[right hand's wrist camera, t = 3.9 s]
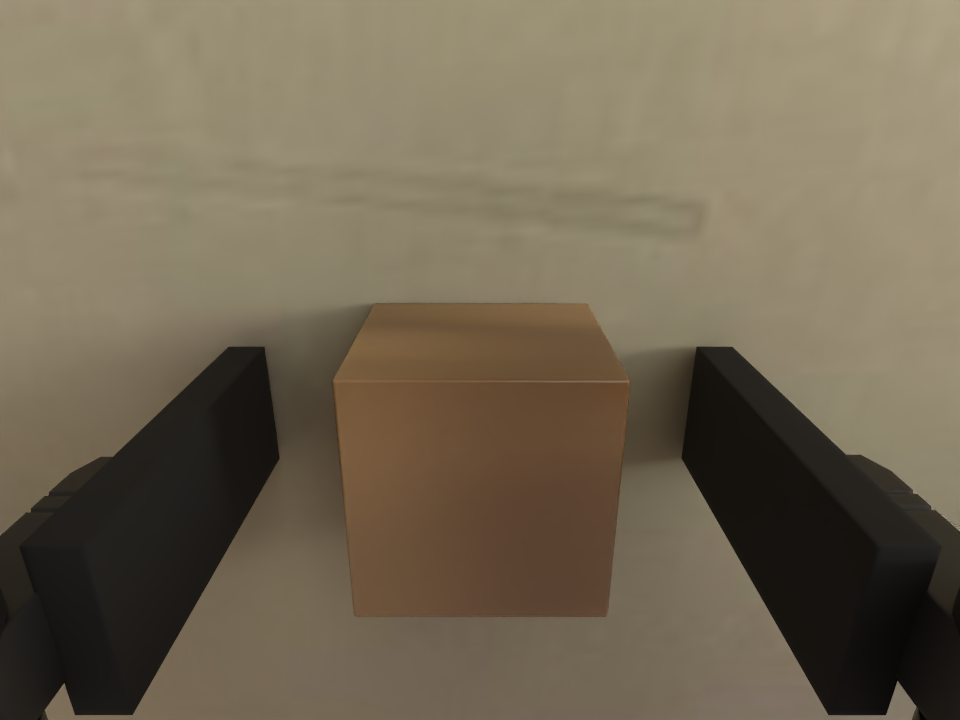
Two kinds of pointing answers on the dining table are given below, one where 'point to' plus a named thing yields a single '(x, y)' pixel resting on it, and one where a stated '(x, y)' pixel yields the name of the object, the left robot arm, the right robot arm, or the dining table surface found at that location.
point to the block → (481, 460)
